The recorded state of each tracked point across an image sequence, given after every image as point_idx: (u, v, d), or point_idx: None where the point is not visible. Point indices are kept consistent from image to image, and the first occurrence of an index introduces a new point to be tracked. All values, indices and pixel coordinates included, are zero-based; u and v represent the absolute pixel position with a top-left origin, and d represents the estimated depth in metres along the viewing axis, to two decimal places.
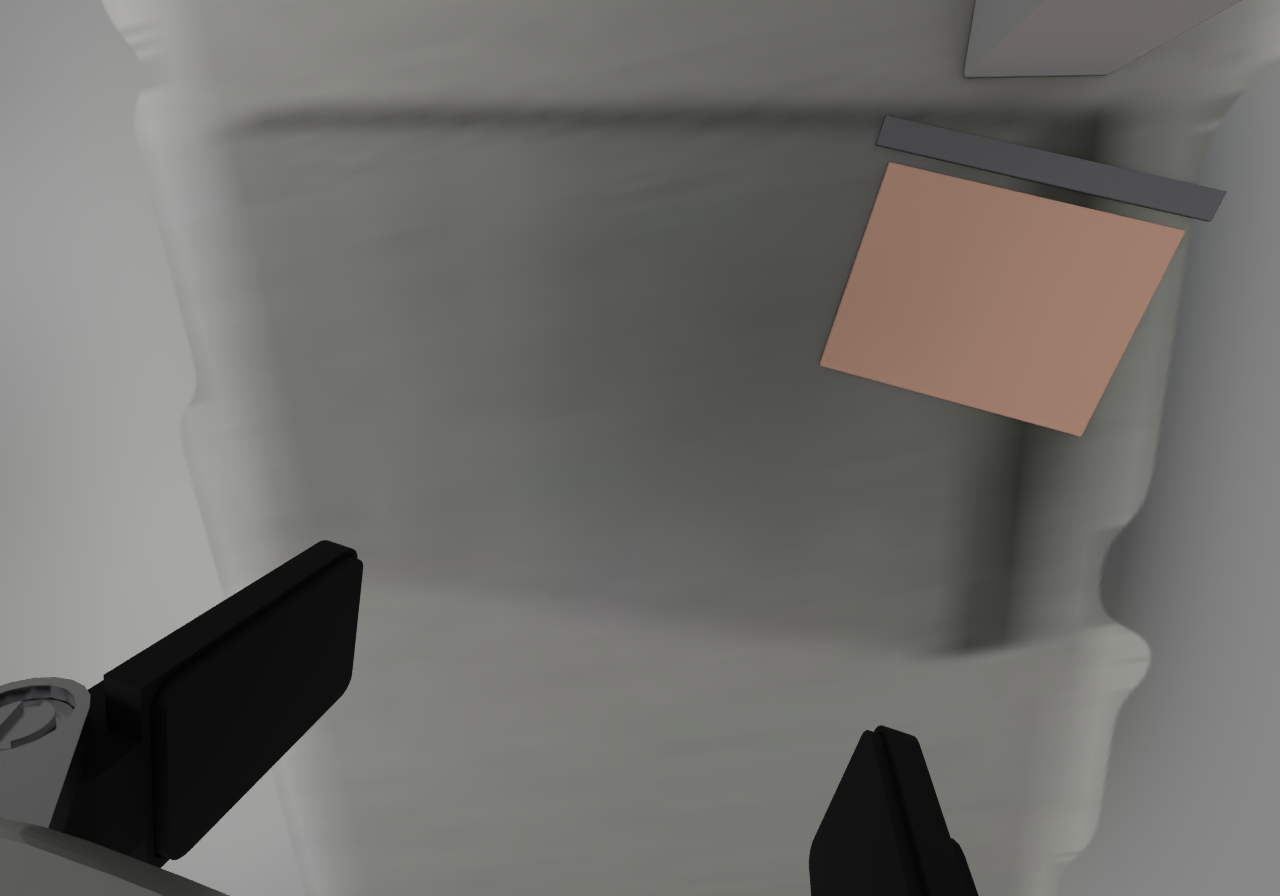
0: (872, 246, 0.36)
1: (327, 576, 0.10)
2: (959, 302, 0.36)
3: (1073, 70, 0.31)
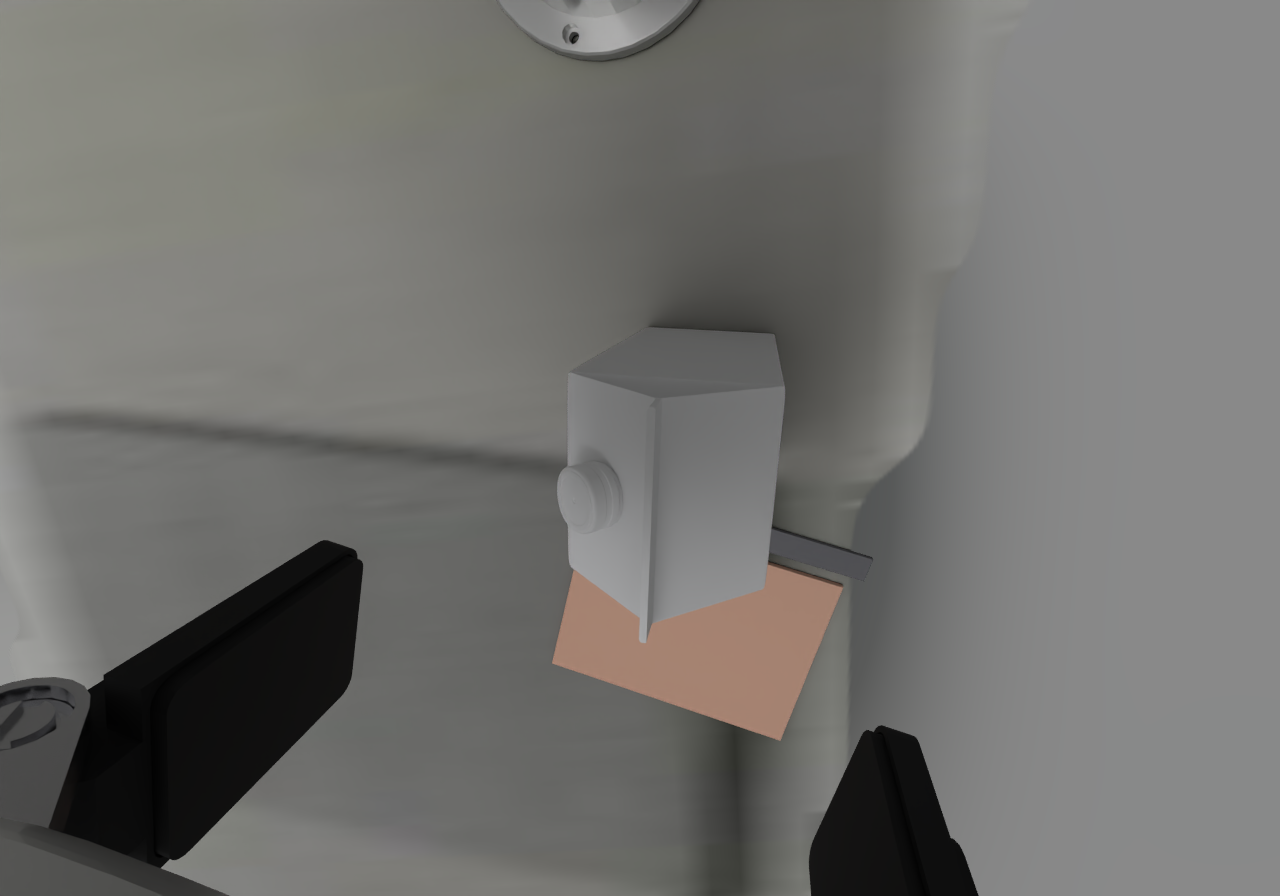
0: None
1: (327, 576, 0.10)
2: (662, 625, 0.39)
3: None
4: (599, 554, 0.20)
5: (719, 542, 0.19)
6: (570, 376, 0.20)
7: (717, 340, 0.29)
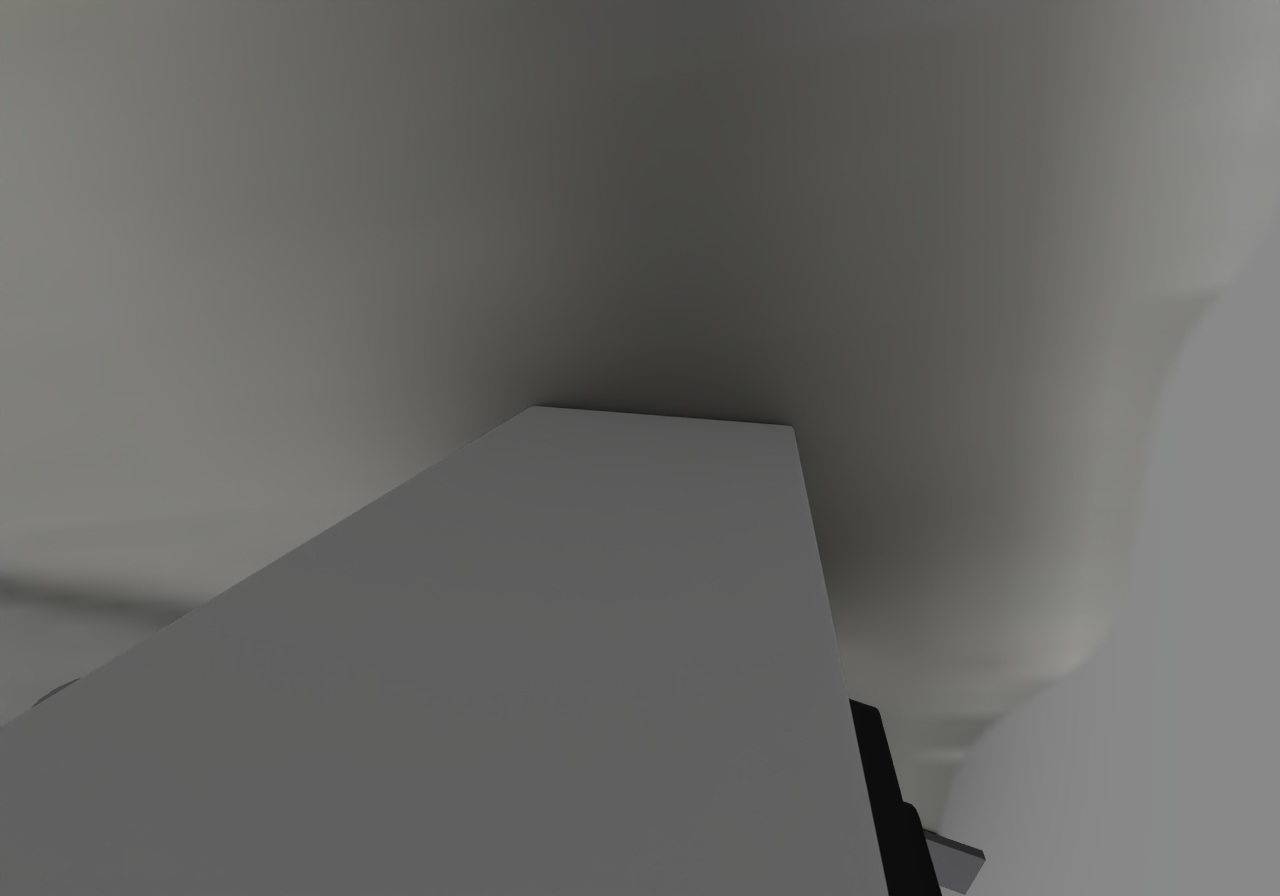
0: None
1: None
2: None
3: None
4: None
5: None
6: None
7: (657, 470, 0.12)
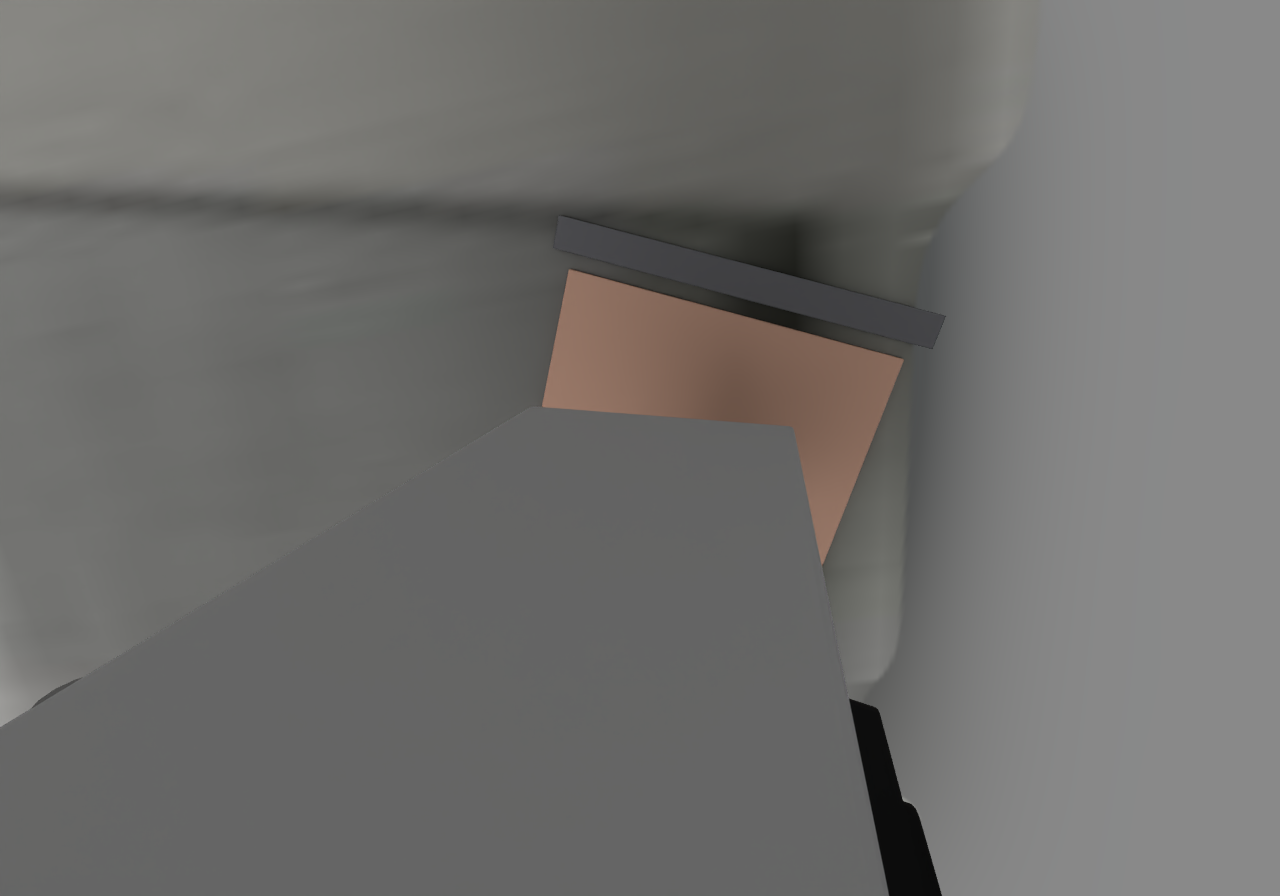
0: (563, 364, 0.30)
1: None
2: None
3: None
4: None
5: None
6: None
7: (657, 471, 0.12)
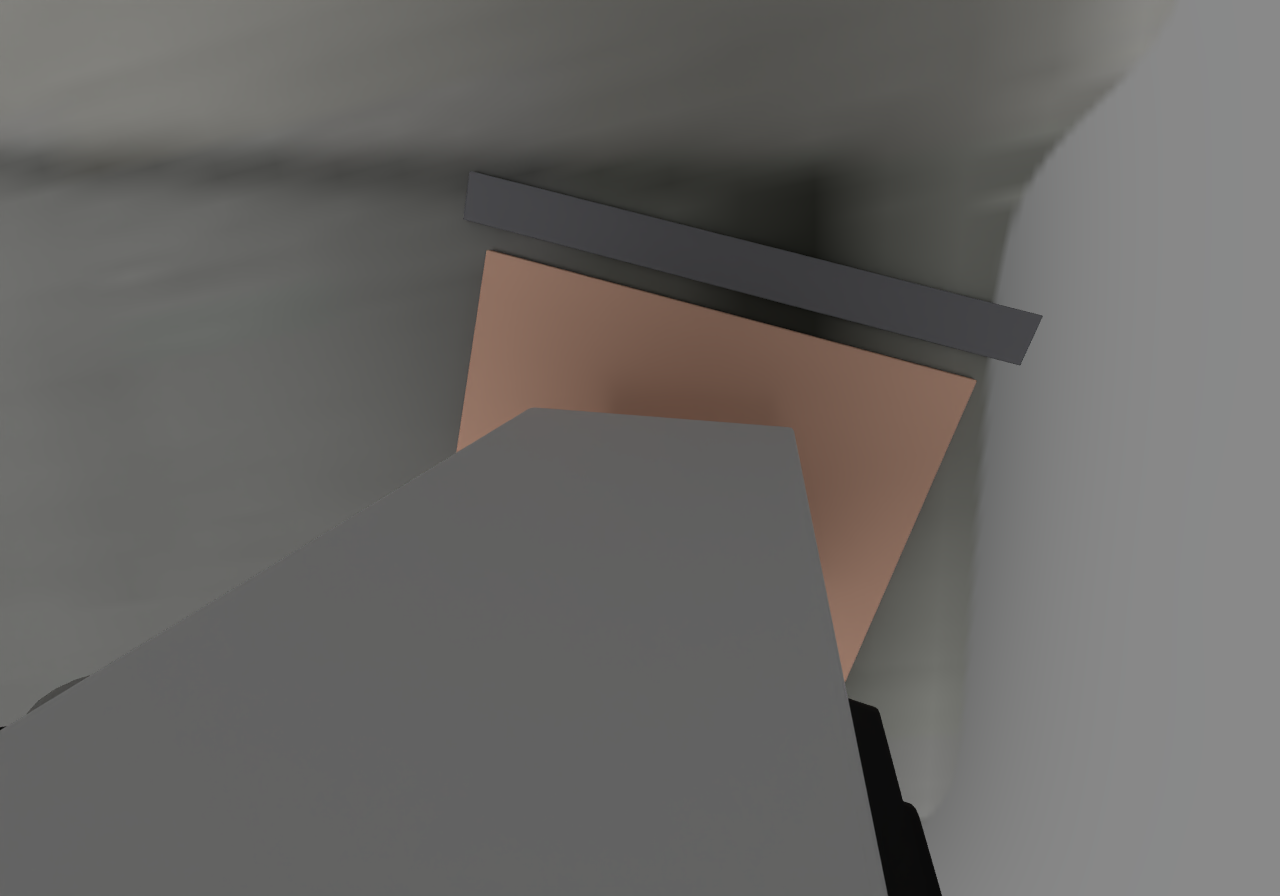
0: (484, 385, 0.21)
1: None
2: None
3: None
4: None
5: None
6: None
7: (657, 472, 0.12)
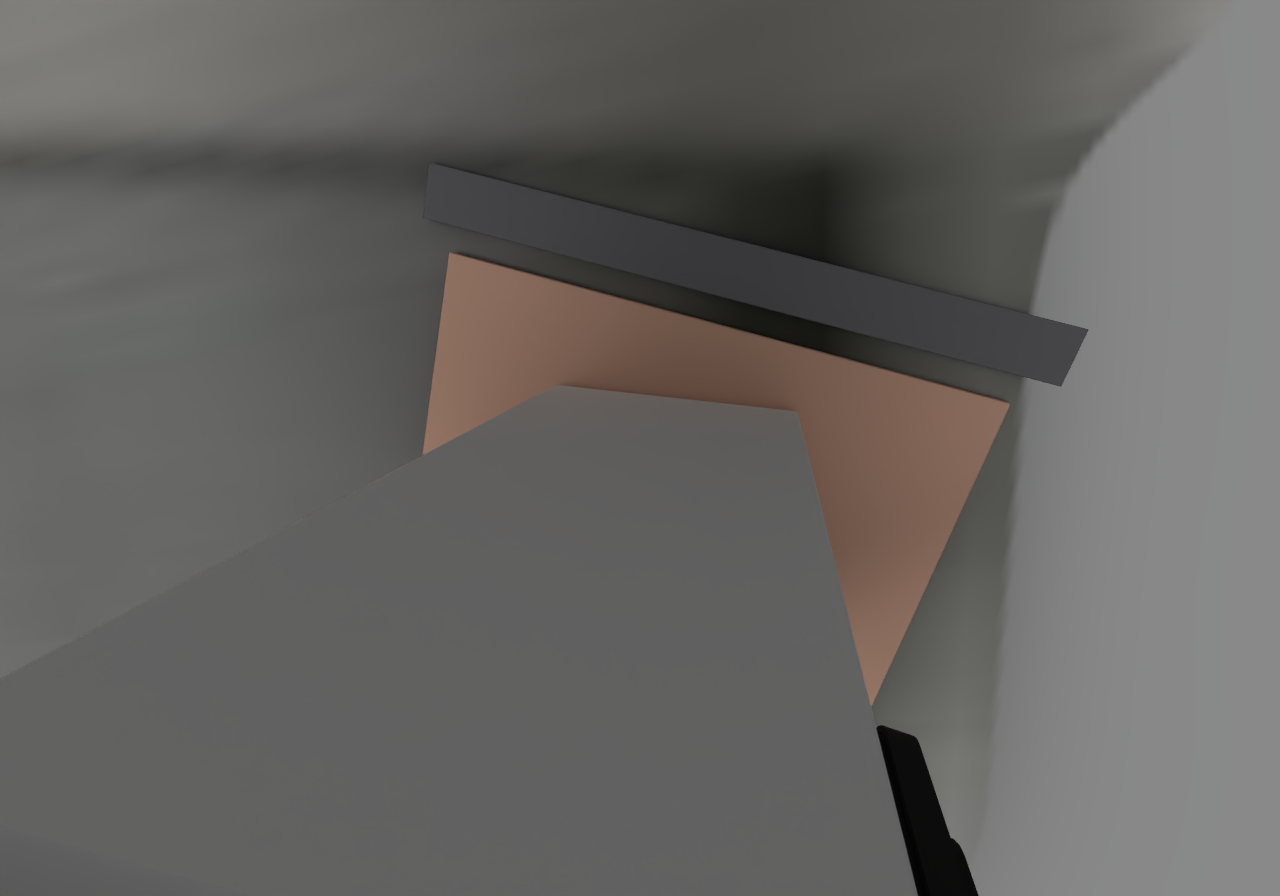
0: (448, 405, 0.19)
1: None
2: None
3: None
4: None
5: None
6: None
7: (676, 440, 0.13)
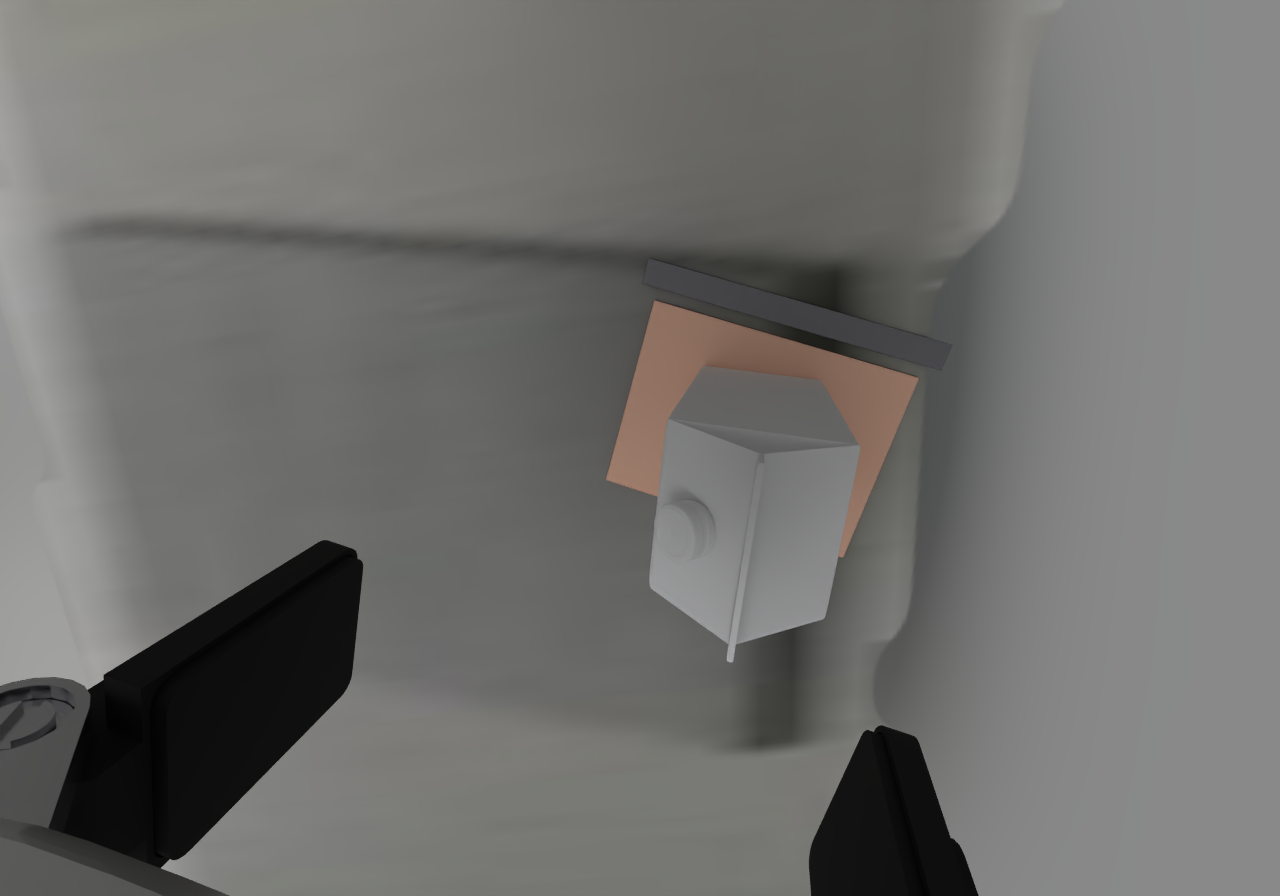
0: (644, 375, 0.38)
1: (327, 576, 0.10)
2: None
3: None
4: (684, 580, 0.23)
5: (794, 577, 0.22)
6: (670, 423, 0.23)
7: (775, 386, 0.32)
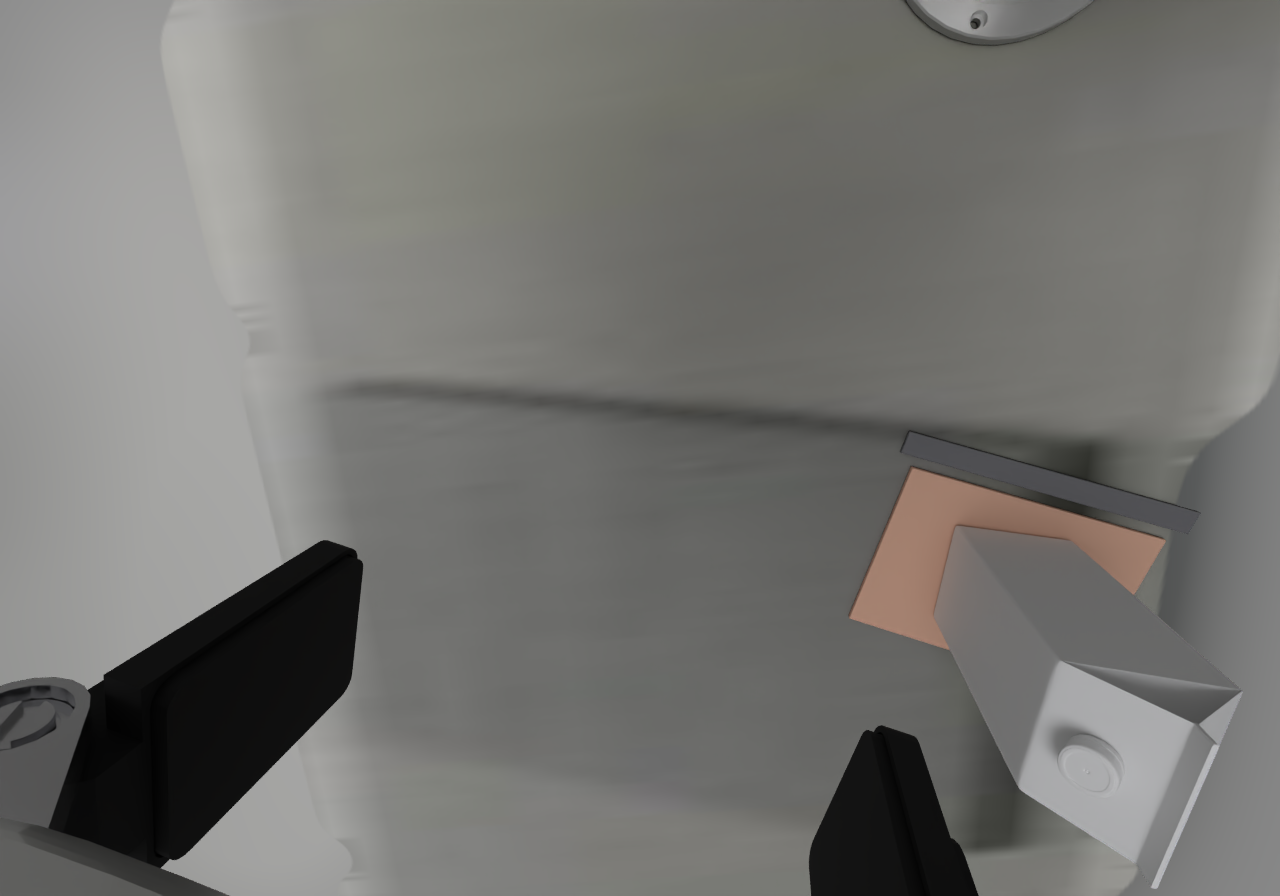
0: (896, 531, 0.41)
1: (327, 576, 0.10)
2: None
3: None
4: (1074, 797, 0.26)
5: None
6: (1063, 665, 0.26)
7: (1056, 565, 0.35)
